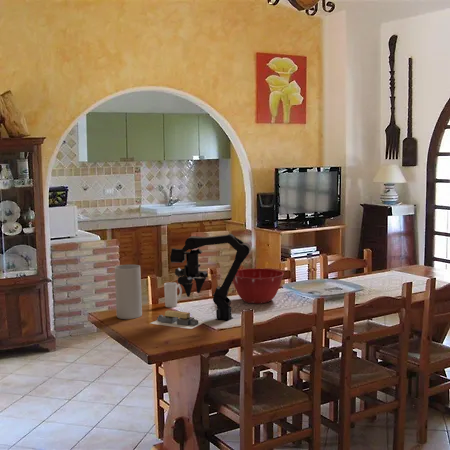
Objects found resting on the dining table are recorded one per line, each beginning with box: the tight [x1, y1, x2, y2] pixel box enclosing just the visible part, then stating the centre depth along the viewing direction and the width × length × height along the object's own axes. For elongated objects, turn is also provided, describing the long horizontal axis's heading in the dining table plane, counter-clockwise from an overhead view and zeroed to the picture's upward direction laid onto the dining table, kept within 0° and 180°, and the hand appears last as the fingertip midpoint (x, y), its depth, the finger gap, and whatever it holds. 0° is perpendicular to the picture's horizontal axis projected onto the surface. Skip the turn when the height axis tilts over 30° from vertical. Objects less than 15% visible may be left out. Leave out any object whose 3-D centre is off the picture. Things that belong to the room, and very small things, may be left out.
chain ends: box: [157, 314, 199, 327], centre depth 299 cm, size 21×6×2 cm, turn 62°
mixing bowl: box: [232, 268, 284, 305], centre depth 340 cm, size 28×28×15 cm
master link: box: [164, 309, 191, 320], centre depth 299 cm, size 12×3×5 cm, turn 62°
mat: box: [149, 317, 206, 330], centre depth 299 cm, size 23×13×1 cm, turn 62°
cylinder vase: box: [114, 264, 143, 320], centre depth 313 cm, size 12×12×25 cm
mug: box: [163, 281, 183, 308], centre depth 334 cm, size 10×7×12 cm, turn 124°
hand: (193, 294), depth 305 cm, fingers open, 9 cm apart
